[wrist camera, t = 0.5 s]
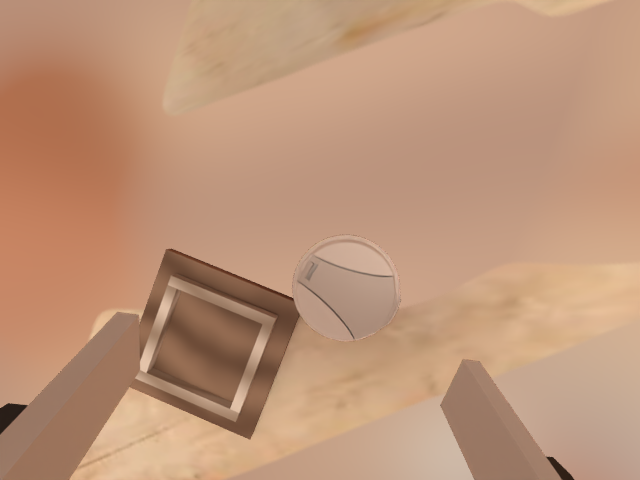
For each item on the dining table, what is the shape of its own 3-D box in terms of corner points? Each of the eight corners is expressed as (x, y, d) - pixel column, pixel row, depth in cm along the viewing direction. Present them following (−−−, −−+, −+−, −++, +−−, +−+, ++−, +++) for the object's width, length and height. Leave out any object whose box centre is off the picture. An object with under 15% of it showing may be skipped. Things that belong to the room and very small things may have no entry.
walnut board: (171, 248, 38) (159, 250, 36) (304, 302, 37) (301, 308, 35) (125, 377, 40) (110, 387, 37) (252, 433, 39) (246, 447, 36)
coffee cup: (298, 278, 37) (269, 311, 22) (331, 219, 37) (324, 214, 22) (357, 312, 37) (368, 370, 22) (392, 254, 36) (427, 273, 22)
